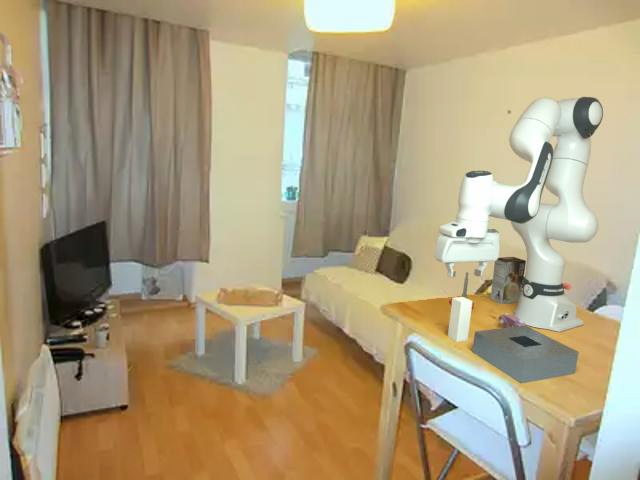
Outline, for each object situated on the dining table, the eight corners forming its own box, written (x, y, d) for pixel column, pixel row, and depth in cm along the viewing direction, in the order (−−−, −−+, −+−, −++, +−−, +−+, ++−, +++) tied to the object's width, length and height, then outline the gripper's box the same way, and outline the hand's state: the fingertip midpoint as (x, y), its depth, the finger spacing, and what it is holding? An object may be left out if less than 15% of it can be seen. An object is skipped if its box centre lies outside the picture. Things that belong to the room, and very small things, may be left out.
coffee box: (507, 296, 185) (513, 256, 182) (520, 302, 179) (527, 260, 176) (489, 298, 181) (495, 257, 178) (501, 304, 176) (507, 261, 172)
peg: (458, 334, 145) (463, 296, 142) (467, 340, 141) (472, 301, 139) (447, 336, 143) (452, 297, 141) (456, 341, 140) (461, 302, 137)
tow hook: (447, 300, 178) (450, 307, 169) (451, 266, 176) (455, 271, 167) (471, 303, 177) (475, 310, 168) (475, 268, 175) (480, 274, 166)
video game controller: (499, 331, 154) (494, 313, 151) (510, 324, 155) (505, 306, 152) (523, 344, 145) (518, 325, 142) (534, 336, 146) (529, 317, 143)
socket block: (522, 344, 140) (525, 325, 139) (574, 373, 124) (578, 351, 123) (472, 351, 133) (474, 331, 132) (521, 383, 117) (524, 360, 116)
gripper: (492, 227, 142) (485, 272, 145) (434, 226, 134) (428, 274, 137) (507, 231, 136) (500, 278, 139) (448, 231, 129) (442, 280, 131)
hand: (464, 276), depth 138 cm, fingers open, 8 cm apart
